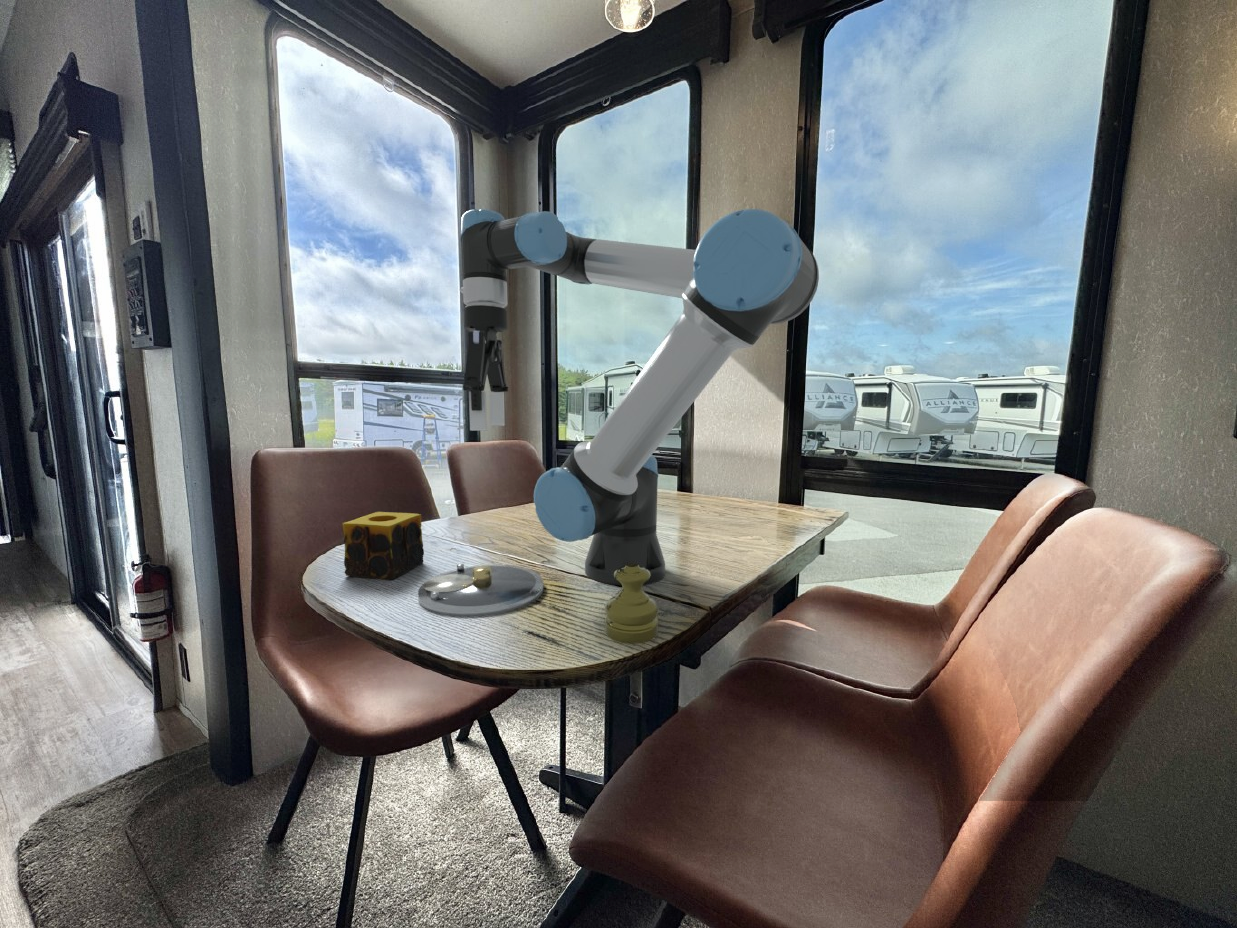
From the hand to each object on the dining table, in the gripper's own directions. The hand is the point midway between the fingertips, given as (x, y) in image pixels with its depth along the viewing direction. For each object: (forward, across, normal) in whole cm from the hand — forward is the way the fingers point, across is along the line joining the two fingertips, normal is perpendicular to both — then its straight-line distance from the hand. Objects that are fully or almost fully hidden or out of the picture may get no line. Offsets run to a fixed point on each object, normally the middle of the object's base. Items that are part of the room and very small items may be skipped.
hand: (488, 428), depth 92 cm
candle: (+27, 0, -20) cm, 34 cm away
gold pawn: (+27, +26, +25) cm, 45 cm away
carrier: (+27, +11, +1) cm, 29 cm away
